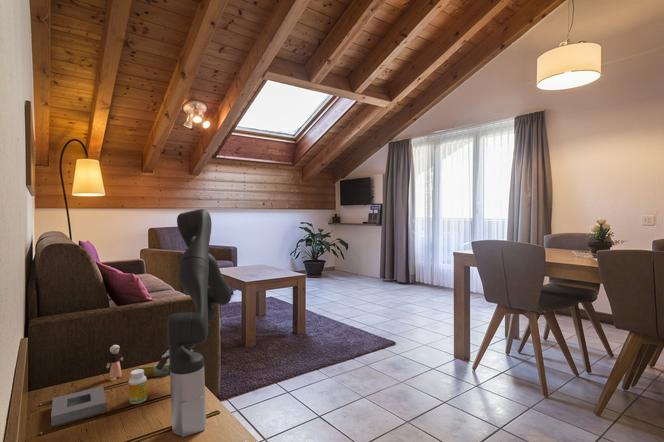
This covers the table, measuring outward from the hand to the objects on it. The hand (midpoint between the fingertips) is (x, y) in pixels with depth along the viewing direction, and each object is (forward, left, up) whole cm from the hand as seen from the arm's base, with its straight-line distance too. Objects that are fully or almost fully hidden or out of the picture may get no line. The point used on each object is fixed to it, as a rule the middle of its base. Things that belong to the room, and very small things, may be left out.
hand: (163, 372), depth 133 cm
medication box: (+16, 0, -7) cm, 17 cm away
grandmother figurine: (+22, +13, -6) cm, 27 cm away
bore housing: (+2, +25, -6) cm, 26 cm away
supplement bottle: (-3, +9, -6) cm, 11 cm away
